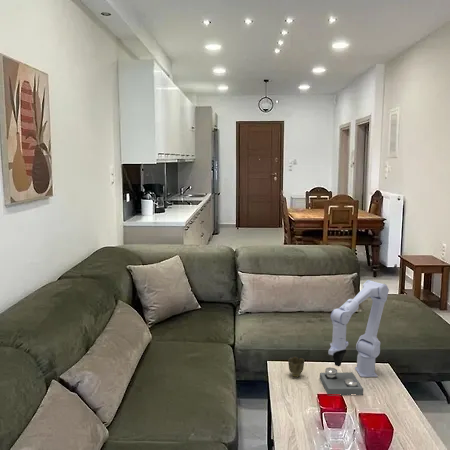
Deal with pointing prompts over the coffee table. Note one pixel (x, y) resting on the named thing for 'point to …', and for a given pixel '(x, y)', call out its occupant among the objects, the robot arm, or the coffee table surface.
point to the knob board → (340, 384)
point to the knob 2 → (350, 383)
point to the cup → (296, 366)
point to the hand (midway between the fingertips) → (337, 365)
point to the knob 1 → (331, 373)
